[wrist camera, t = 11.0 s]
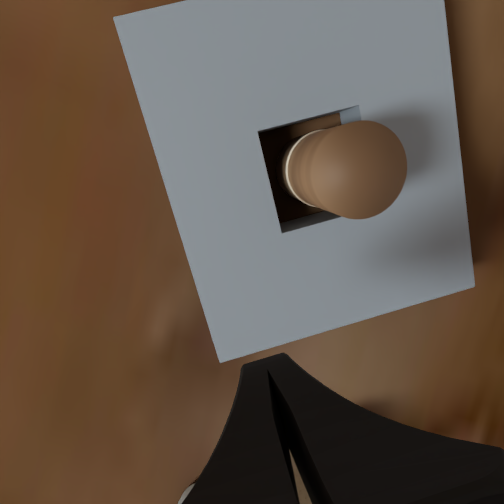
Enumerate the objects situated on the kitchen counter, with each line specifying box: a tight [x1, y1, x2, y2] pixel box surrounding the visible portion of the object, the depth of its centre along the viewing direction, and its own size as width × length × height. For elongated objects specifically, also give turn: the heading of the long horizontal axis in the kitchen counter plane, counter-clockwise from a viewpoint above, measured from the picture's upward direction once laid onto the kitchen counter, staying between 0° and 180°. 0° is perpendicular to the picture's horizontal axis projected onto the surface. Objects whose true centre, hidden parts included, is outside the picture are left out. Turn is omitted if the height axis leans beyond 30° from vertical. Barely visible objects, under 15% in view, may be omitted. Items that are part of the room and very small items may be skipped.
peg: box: [276, 120, 407, 219], centre depth 17 cm, size 4×4×7 cm
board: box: [113, 0, 475, 363], centre depth 19 cm, size 14×16×2 cm
